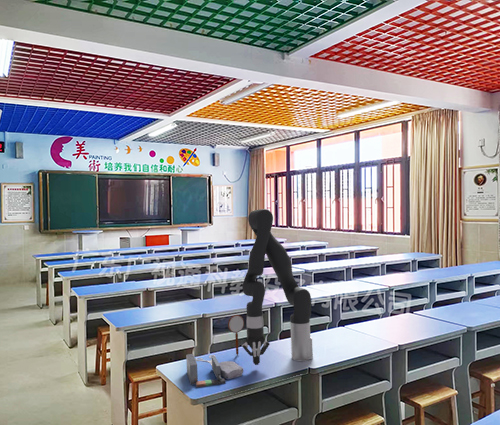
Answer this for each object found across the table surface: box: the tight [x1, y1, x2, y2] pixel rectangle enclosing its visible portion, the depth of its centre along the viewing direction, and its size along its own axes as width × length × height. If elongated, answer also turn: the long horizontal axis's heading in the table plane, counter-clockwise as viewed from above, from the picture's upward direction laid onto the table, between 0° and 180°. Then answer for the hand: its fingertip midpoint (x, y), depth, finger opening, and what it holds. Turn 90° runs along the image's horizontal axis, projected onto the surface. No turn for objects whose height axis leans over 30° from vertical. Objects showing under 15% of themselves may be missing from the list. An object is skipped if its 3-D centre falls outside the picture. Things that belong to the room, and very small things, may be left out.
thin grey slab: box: [211, 355, 222, 380], centre depth 177 cm, size 2×18×6 cm, turn 15°
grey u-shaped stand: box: [185, 353, 226, 388], centre depth 176 cm, size 14×18×8 cm
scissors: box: [195, 354, 216, 366], centre depth 195 cm, size 11×1×20 cm
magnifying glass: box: [227, 314, 245, 357], centre depth 202 cm, size 9×2×20 cm, turn 117°
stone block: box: [219, 360, 244, 380], centre depth 180 cm, size 12×5×10 cm
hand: (256, 364), depth 184 cm, fingers closed
